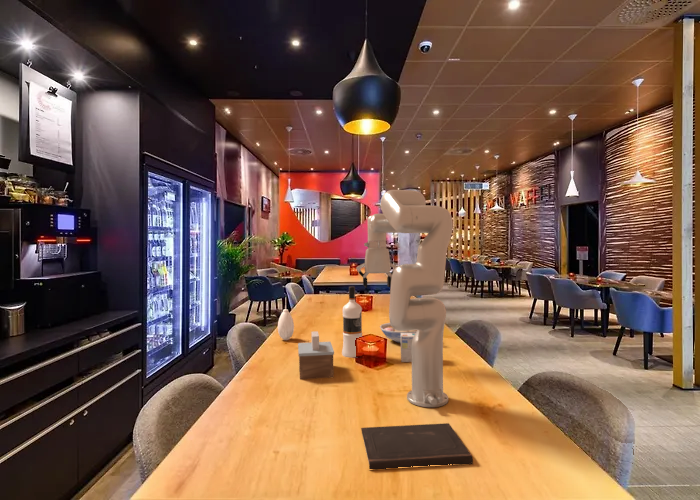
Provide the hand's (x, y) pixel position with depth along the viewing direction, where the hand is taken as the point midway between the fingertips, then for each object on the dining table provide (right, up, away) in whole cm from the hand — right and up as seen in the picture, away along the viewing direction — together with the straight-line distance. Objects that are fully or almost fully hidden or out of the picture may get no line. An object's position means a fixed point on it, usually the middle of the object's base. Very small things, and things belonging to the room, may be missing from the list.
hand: (377, 287), depth 162 cm
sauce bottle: (-44, -30, +37) cm, 65 cm away
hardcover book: (+4, -33, -69) cm, 76 cm away
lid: (-24, -23, -15) cm, 37 cm away
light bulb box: (+15, -31, +1) cm, 34 cm away
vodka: (-10, -31, +7) cm, 33 cm away
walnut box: (-24, -31, -15) cm, 42 cm away
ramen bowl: (+15, -30, +31) cm, 45 cm away
